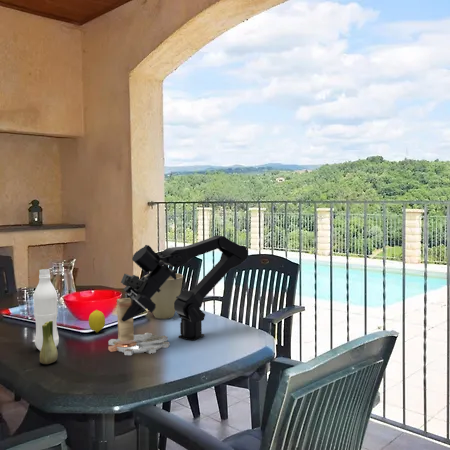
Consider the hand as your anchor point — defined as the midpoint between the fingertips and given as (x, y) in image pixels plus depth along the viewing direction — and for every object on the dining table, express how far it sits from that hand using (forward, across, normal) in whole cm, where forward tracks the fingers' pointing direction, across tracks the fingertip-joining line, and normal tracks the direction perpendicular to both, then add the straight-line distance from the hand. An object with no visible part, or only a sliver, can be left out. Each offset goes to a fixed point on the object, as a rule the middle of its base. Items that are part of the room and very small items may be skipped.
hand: (121, 318), depth 164 cm
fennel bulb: (+22, +4, -9) cm, 24 cm away
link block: (+4, 0, +6) cm, 7 cm away
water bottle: (+22, -10, -8) cm, 25 cm away
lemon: (+10, -21, +4) cm, 23 cm away
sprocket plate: (+3, -1, +11) cm, 11 cm away
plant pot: (-10, -32, +24) cm, 41 cm away
